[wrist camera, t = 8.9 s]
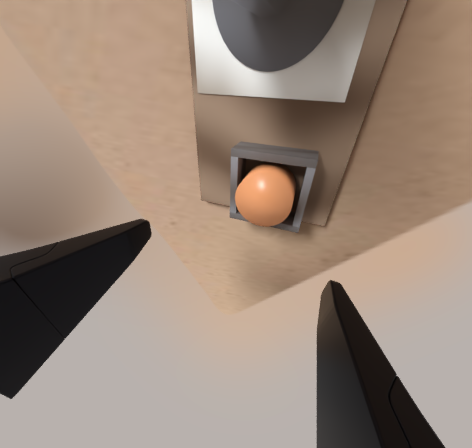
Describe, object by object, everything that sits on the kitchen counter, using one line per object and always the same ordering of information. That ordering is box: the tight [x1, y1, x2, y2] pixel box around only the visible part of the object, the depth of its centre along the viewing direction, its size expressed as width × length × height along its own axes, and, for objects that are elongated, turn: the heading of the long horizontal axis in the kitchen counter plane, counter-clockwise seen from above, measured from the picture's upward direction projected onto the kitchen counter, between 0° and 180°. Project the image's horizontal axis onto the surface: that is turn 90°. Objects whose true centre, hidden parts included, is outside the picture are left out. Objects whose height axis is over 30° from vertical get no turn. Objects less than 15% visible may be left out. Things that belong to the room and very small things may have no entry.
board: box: [186, 0, 407, 233], centre depth 13 cm, size 22×13×3 cm, turn 178°
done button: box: [235, 162, 296, 227], centre depth 16 cm, size 4×4×3 cm
